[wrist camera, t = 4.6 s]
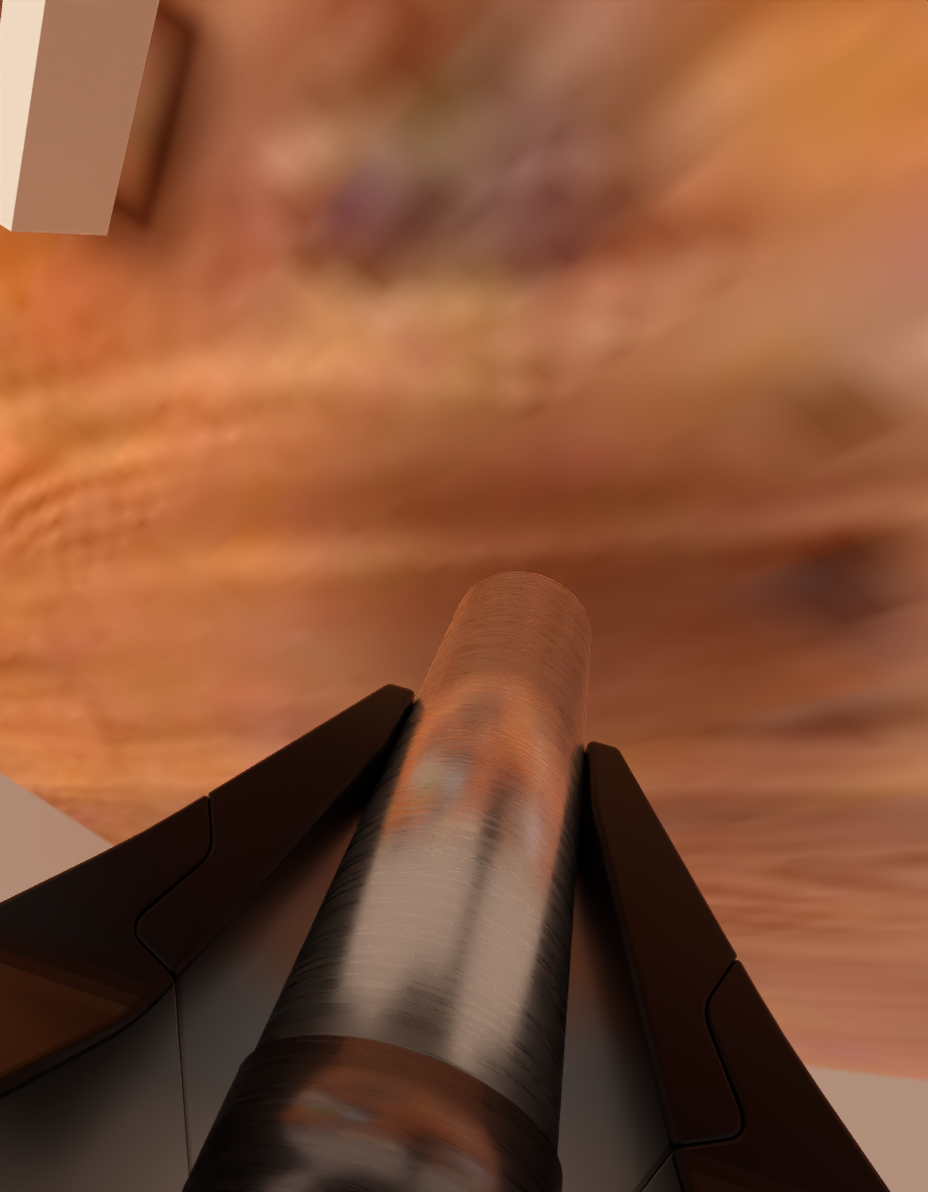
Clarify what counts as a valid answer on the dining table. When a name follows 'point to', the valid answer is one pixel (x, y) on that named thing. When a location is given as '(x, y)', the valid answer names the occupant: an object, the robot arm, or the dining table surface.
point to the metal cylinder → (437, 938)
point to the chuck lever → (67, 109)
